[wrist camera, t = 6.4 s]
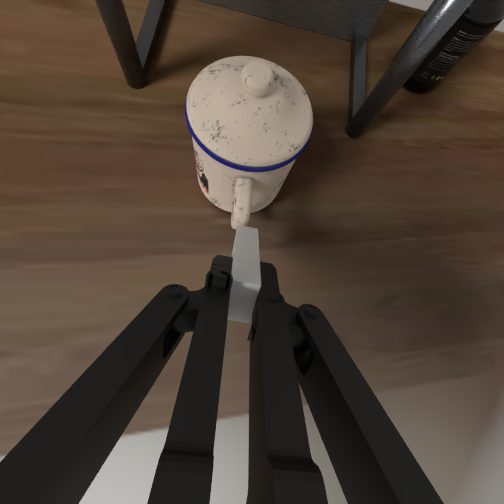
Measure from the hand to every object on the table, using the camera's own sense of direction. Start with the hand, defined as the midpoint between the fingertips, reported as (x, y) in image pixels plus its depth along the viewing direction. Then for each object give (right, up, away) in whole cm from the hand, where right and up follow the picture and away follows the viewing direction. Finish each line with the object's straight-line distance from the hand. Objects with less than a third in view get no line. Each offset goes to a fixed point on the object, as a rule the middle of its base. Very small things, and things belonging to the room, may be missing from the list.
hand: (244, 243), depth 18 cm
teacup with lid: (-1, +6, +7) cm, 9 cm away
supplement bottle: (+22, +23, +15) cm, 35 cm away
